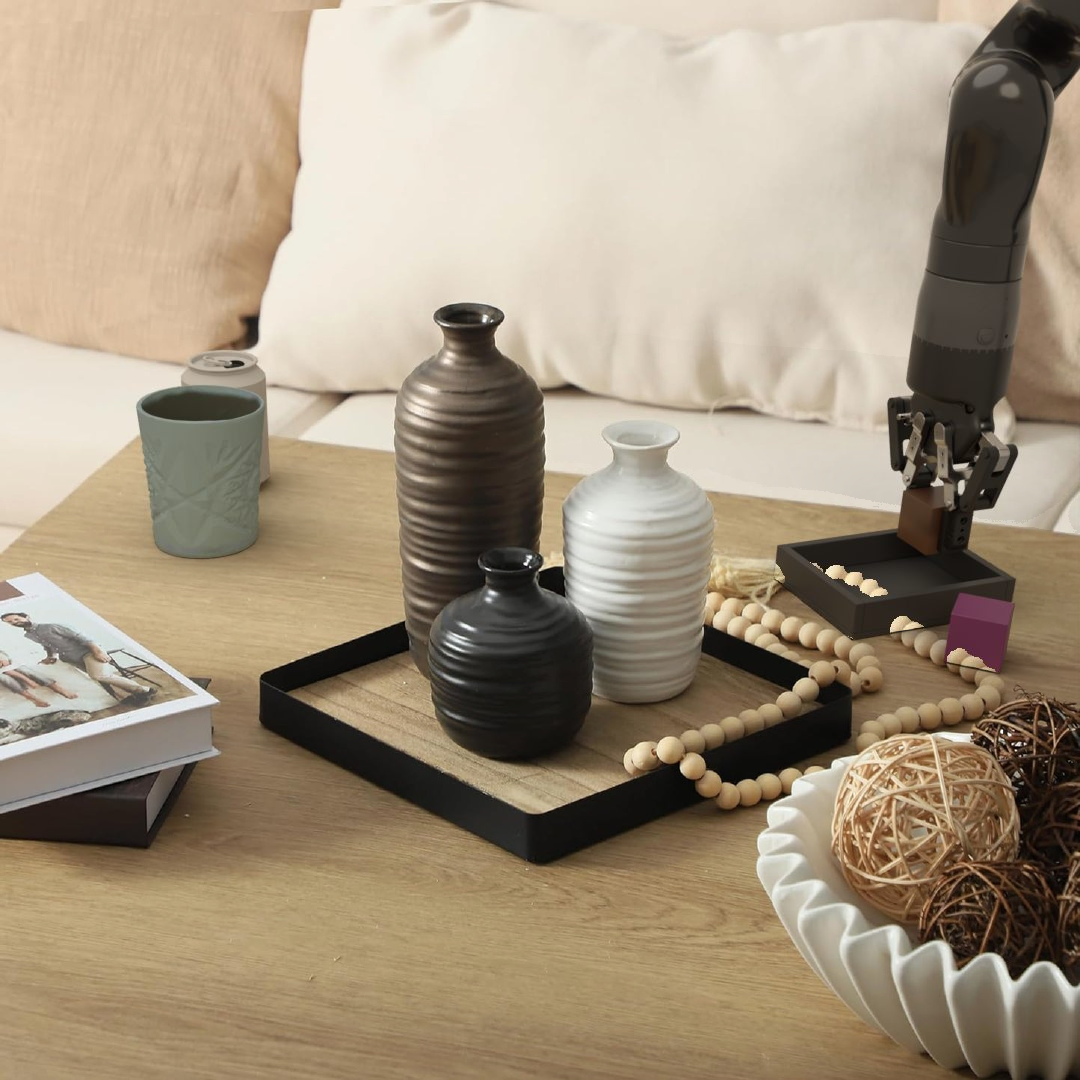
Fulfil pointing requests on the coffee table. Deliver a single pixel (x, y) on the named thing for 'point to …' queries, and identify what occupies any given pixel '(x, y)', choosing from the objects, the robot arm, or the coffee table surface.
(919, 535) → the walnut block
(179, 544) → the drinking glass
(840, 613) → the tray
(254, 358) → the can
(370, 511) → the coffee table surface
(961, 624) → the plum block
